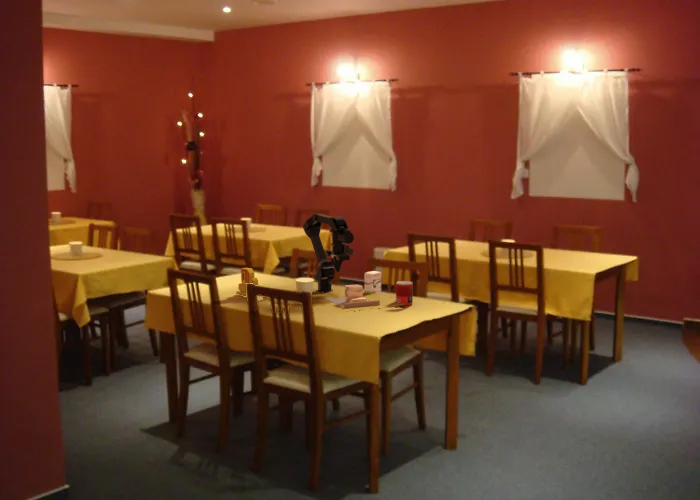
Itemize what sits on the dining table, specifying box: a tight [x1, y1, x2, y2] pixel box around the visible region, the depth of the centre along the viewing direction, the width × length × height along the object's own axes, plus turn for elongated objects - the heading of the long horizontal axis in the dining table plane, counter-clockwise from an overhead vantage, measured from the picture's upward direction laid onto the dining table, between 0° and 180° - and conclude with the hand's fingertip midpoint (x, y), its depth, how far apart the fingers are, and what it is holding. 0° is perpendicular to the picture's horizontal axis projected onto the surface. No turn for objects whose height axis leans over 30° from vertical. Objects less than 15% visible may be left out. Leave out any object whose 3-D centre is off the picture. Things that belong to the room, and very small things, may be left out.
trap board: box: [324, 295, 371, 306], centre depth 367 cm, size 18×18×2 cm
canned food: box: [395, 280, 414, 307], centre depth 361 cm, size 8×8×11 cm
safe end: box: [338, 299, 381, 312], centre depth 355 cm, size 7×18×4 cm, turn 114°
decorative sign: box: [235, 267, 260, 297], centre depth 379 cm, size 20×3×15 cm, turn 41°
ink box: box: [363, 270, 382, 295], centre depth 385 cm, size 9×5×12 cm, turn 143°
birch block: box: [344, 284, 368, 303], centre depth 358 cm, size 10×7×8 cm
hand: (337, 271), depth 384 cm, fingers closed
